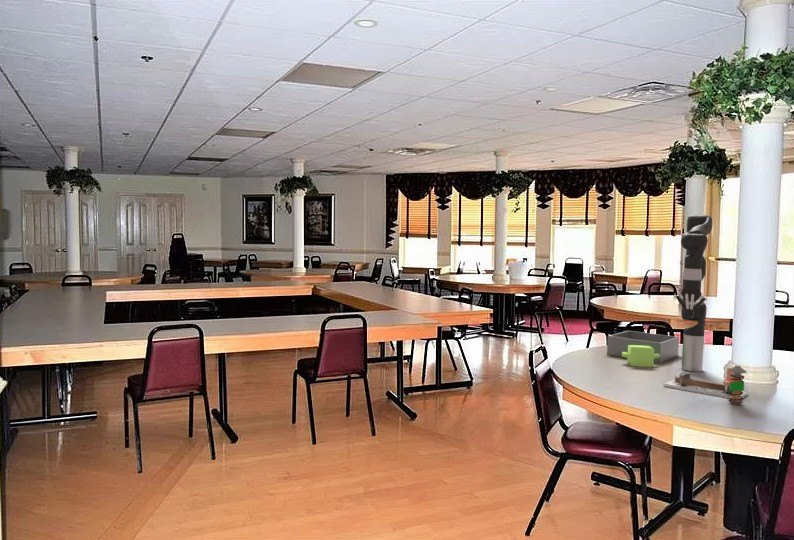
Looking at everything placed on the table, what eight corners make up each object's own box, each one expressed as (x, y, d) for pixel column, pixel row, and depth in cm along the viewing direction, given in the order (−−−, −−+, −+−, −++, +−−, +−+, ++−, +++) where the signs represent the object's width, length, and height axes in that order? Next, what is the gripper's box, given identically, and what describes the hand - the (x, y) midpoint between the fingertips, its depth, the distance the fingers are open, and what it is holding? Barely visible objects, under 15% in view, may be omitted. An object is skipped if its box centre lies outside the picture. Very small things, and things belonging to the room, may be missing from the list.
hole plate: (673, 381, 284) (673, 378, 284) (747, 395, 264) (747, 391, 264) (663, 386, 275) (663, 383, 275) (740, 400, 255) (740, 397, 255)
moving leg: (726, 388, 268) (727, 366, 268) (734, 389, 266) (735, 367, 266) (721, 391, 263) (722, 369, 262) (729, 392, 261) (730, 370, 260)
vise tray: (627, 347, 364) (628, 330, 364) (678, 355, 346) (679, 337, 345) (606, 354, 344) (607, 335, 343) (659, 362, 325) (660, 343, 324)
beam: (676, 380, 282) (677, 370, 282) (741, 391, 265) (742, 381, 264) (671, 383, 276) (671, 373, 276) (736, 395, 259) (737, 384, 259)
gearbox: (656, 363, 323) (657, 345, 323) (662, 367, 314) (663, 348, 313) (620, 361, 325) (621, 343, 325) (625, 366, 315) (626, 347, 315)
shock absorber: (728, 400, 255) (730, 363, 254) (746, 403, 251) (748, 366, 250) (724, 403, 250) (727, 366, 249) (742, 407, 246) (745, 368, 245)
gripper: (710, 279, 280) (708, 318, 282) (679, 277, 289) (677, 315, 290) (705, 280, 275) (703, 320, 276) (673, 278, 284) (671, 316, 285)
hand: (689, 317), depth 283 cm, fingers closed
